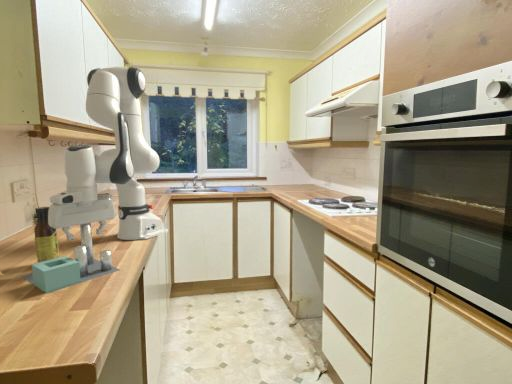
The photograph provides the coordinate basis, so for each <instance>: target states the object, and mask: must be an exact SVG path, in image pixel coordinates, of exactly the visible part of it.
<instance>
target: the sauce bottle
mask: <svg viewBox="0 0 512 384" xmlns="http://www.w3.org/2000/svg"><path fill="white" fill-rule="evenodd" d="M49 207H50V206H40V207H36V208H35V214H36V220H37V222H36V224H35V226H34V229H33V230H34V231H33V232H34V240H35V241H34V243H35V249H36V258H37V263H39V262H43V261H47V260H51V259H55V258H59V257H60V249H59V241H58V231H57V229H54V228H52V227H50V226H49V224H48V210H49Z"/></svg>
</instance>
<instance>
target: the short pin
mask: <svg viewBox="0 0 512 384" xmlns="http://www.w3.org/2000/svg"><path fill="white" fill-rule="evenodd" d="M99 259H100V260H99V261H100V263H101V271H109V270H111V269H112V266H113V262H112V251H111V249H103V250H100V251H99Z"/></svg>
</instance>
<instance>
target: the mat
mask: <svg viewBox="0 0 512 384" xmlns="http://www.w3.org/2000/svg"><path fill="white" fill-rule="evenodd" d="M118 271H121V269H120V268H117V267H114V266H113V265H112V269H111V270H109V271H101V263H100V260H98V259H96V258H94V264H92V265H88V276H86V277H82V278H81V282H79V283H76V284H73V285H70V286H66V287H63V288H60V289H57V290H54V291H51V292H48V293H47V294H49V293H53V292H56V291H59V290H63V289H66V288H69V287H71V286H75V285H77V284H78V285H79V284H81V283H84V282H85V283H86V282H88V281H90V280H94V279H96V278H100V277H103V276H106V275H109V274H113V273H115V272H118ZM21 278H23V279H24V280H26V281H27V282H29V283H31V284H32V285H33V286H35V285H34V283H33V274H32V272H31V273H26V274H24V275H21ZM35 287H36V288H38V287H37V286H35Z"/></svg>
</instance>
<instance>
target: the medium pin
mask: <svg viewBox="0 0 512 384" xmlns="http://www.w3.org/2000/svg"><path fill="white" fill-rule="evenodd" d="M73 252H74V253H73V254H74V260H76V261H78V262H79V266H80V278H82V277H86V276H88V263H87V251H86V246H84V245H82V244H81V245H78V246H74V247H73Z"/></svg>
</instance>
